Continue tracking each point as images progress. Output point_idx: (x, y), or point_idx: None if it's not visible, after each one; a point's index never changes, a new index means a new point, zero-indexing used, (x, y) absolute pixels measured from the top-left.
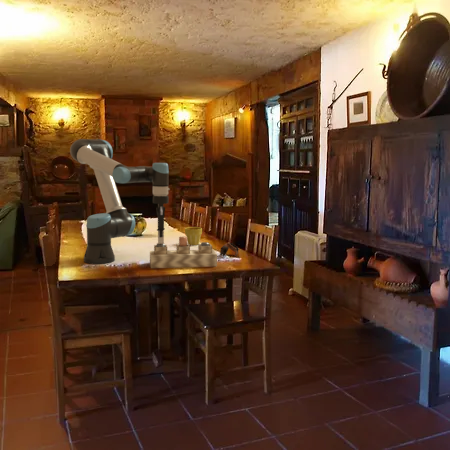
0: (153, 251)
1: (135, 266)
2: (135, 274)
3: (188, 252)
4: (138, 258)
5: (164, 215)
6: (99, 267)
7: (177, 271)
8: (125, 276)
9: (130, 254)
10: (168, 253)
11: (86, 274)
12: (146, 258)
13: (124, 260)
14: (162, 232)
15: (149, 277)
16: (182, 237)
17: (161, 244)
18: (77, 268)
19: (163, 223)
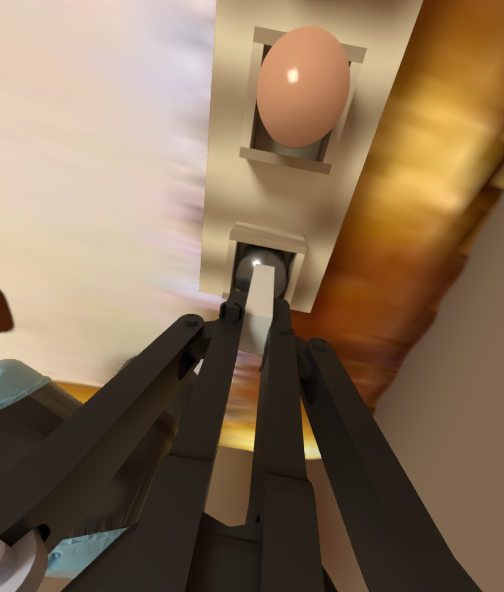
0: (216, 280)
1: None
2: (365, 345)
3: None
4: (135, 288)
5: (314, 501)
6: (242, 396)
7: (412, 201)
8: (373, 370)
9: (67, 297)
10: (287, 223)
11: (305, 426)
12: (135, 262)
13: None
14: (290, 323)
15: (430, 321)
16: (317, 108)
17: (282, 281)
18: (238, 428)
19: (360, 404)
